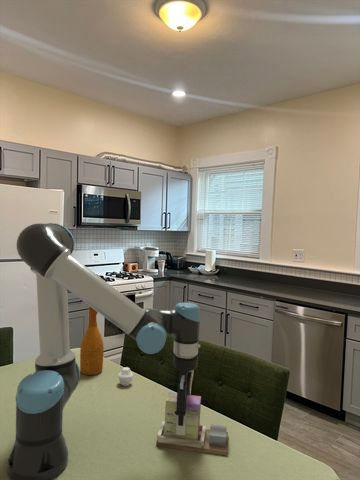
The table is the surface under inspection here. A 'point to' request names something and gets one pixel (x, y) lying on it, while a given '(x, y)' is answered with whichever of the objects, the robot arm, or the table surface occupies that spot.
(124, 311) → the robot arm
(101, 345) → the wine bottle
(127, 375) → the white ribbed rounded piece
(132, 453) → the table surface
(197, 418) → the box
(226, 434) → the shallow tray
